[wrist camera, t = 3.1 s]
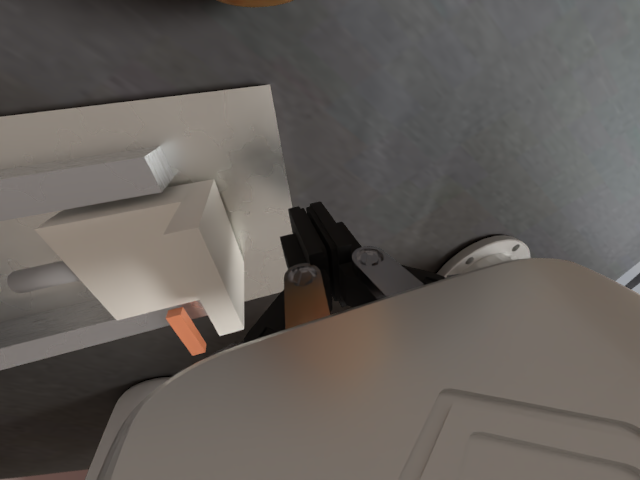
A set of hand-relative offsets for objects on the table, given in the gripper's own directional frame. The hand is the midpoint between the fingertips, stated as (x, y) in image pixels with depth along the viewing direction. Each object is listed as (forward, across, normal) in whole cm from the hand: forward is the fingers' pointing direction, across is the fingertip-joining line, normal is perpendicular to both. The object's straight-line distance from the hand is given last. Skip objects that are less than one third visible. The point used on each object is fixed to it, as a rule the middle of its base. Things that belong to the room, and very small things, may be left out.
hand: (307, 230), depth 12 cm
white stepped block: (+4, +9, +3) cm, 10 cm away
